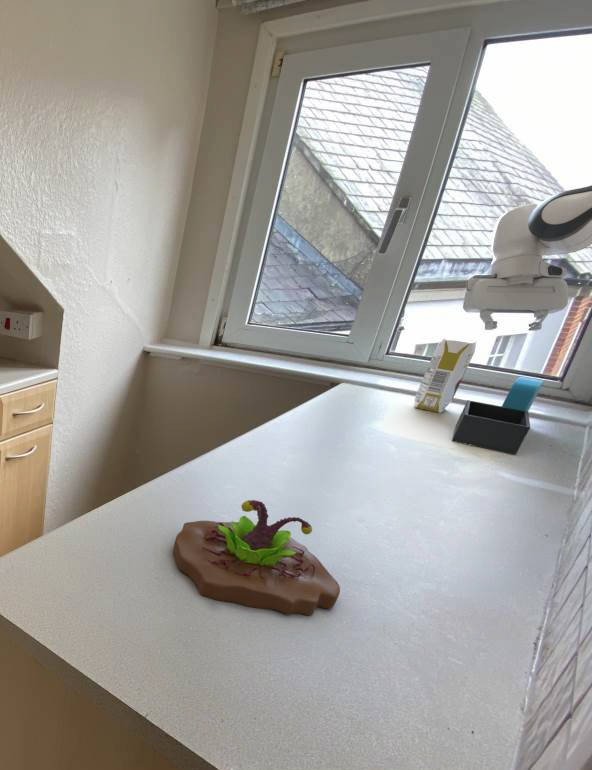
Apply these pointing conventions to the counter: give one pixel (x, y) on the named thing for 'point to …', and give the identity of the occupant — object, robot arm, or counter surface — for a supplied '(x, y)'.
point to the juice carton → (444, 373)
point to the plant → (254, 564)
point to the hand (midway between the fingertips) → (512, 329)
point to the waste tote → (492, 427)
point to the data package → (522, 393)
